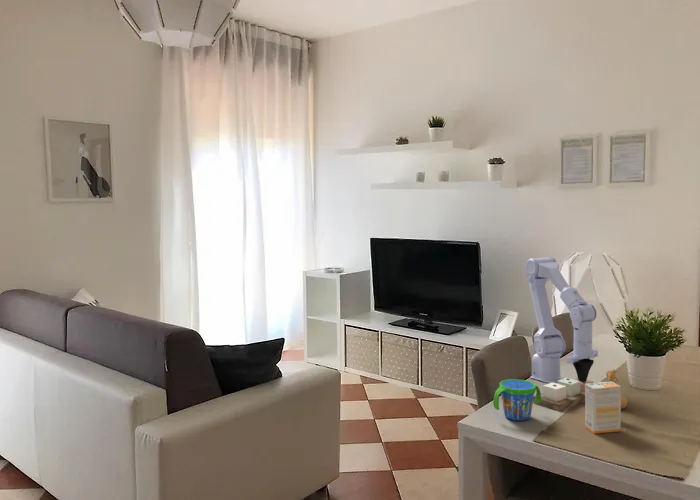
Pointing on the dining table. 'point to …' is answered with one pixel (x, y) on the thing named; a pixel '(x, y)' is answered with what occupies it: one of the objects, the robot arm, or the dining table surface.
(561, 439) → the dining table surface
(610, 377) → the figurine
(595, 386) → the supplement box
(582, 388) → the tile three
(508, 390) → the snack cup
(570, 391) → the tile two
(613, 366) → the dining table surface
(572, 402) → the tile board
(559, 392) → the tile one
